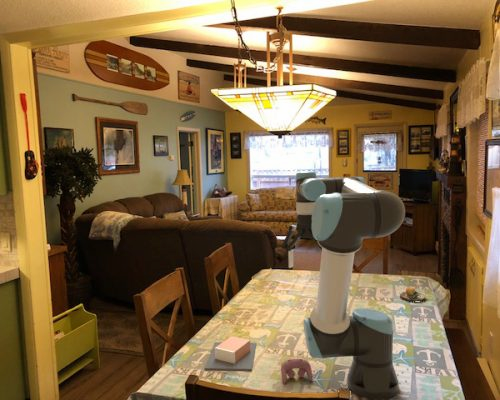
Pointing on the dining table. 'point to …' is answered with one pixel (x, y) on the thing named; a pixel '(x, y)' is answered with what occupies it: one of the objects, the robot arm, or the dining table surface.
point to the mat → (241, 364)
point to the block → (232, 349)
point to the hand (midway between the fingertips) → (307, 269)
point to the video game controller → (295, 363)
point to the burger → (412, 295)
